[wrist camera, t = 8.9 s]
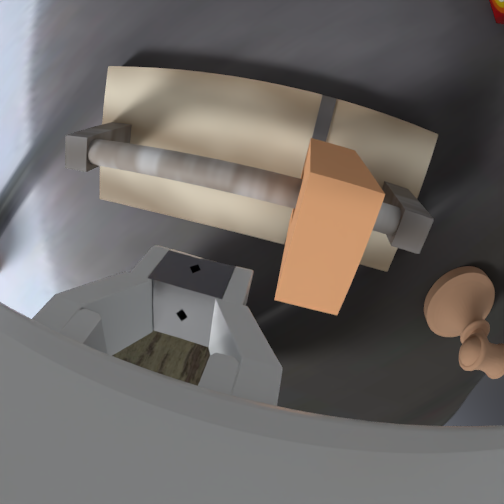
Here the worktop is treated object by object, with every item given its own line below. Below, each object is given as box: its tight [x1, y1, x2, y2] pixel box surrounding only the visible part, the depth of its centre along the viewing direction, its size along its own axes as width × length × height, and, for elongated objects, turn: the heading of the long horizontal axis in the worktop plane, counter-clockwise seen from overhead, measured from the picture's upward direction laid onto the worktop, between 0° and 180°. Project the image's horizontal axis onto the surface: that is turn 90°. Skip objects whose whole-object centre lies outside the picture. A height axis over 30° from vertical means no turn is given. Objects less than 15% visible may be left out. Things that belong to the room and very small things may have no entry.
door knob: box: [424, 266, 504, 379], centre depth 23 cm, size 8×10×8 cm
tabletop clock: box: [112, 330, 210, 386], centre depth 24 cm, size 14×9×25 cm, turn 170°
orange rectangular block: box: [274, 138, 385, 315], centre depth 17 cm, size 3×6×9 cm, turn 169°
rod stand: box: [65, 66, 438, 272], centre depth 21 cm, size 12×26×8 cm, turn 79°
